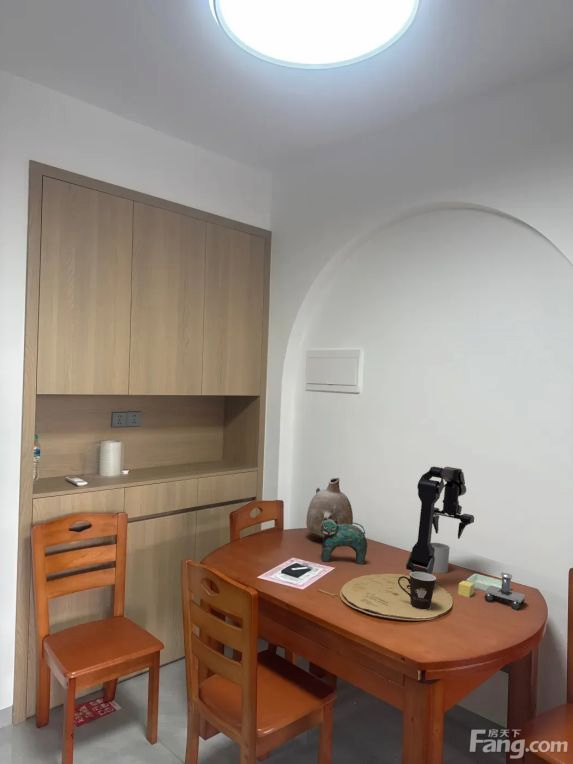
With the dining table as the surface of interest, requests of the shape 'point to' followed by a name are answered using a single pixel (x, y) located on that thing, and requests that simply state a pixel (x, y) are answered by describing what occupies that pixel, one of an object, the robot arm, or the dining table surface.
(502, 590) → the pin
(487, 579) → the tray
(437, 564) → the cup
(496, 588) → the cart
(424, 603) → the coffee mug
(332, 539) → the ceramic cat
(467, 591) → the yellow block
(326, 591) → the dining table surface
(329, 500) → the jug
